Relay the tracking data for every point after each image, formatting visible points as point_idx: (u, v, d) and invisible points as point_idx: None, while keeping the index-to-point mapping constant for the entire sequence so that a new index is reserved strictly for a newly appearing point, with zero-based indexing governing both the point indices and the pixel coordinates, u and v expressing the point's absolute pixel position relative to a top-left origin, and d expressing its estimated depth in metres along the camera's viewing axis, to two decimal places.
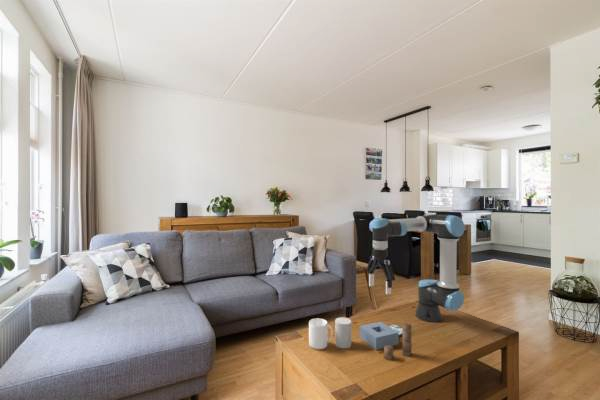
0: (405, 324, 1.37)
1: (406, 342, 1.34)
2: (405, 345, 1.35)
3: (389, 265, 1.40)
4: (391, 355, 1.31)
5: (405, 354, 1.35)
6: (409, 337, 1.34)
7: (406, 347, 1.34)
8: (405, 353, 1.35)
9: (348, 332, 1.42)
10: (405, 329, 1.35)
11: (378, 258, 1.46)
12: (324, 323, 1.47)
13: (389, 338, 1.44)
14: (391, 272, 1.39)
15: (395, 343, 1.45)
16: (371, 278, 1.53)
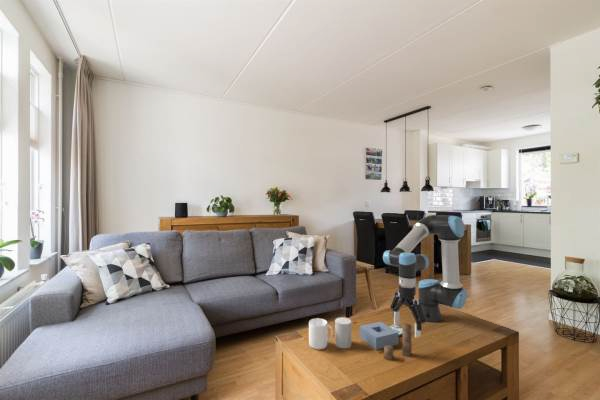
0: (405, 324, 1.37)
1: (406, 342, 1.34)
2: (405, 345, 1.35)
3: (418, 305, 1.30)
4: (391, 355, 1.31)
5: (405, 354, 1.35)
6: (409, 337, 1.34)
7: (406, 347, 1.34)
8: (405, 353, 1.35)
9: (348, 332, 1.42)
10: (405, 329, 1.35)
11: (405, 296, 1.35)
12: (324, 323, 1.47)
13: (389, 338, 1.44)
14: (421, 313, 1.28)
15: (395, 343, 1.45)
16: (396, 316, 1.42)
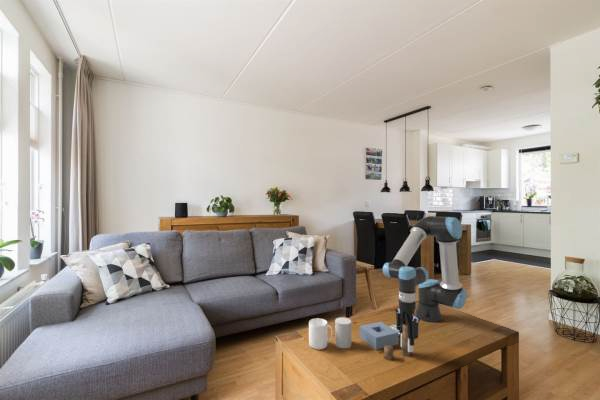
0: (405, 324, 1.37)
1: (406, 342, 1.34)
2: (405, 345, 1.35)
3: (416, 323, 1.31)
4: (391, 355, 1.31)
5: (405, 354, 1.35)
6: None
7: (406, 347, 1.35)
8: (405, 353, 1.35)
9: (348, 332, 1.42)
10: (405, 329, 1.35)
11: (405, 311, 1.36)
12: (324, 323, 1.47)
13: (389, 338, 1.44)
14: (416, 331, 1.31)
15: (395, 343, 1.45)
16: None
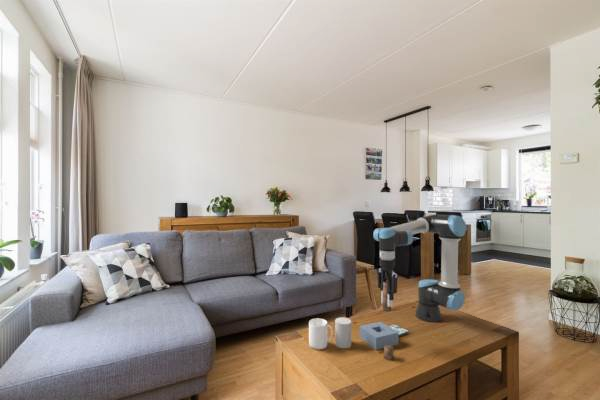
0: (385, 282, 1.46)
1: (386, 298, 1.43)
2: (385, 301, 1.44)
3: (395, 279, 1.40)
4: (391, 355, 1.31)
5: (385, 309, 1.44)
6: None
7: (386, 303, 1.43)
8: (385, 308, 1.44)
9: (348, 332, 1.42)
10: (385, 286, 1.44)
11: (385, 268, 1.44)
12: (324, 323, 1.47)
13: (389, 338, 1.44)
14: (395, 286, 1.40)
15: (395, 343, 1.45)
16: None
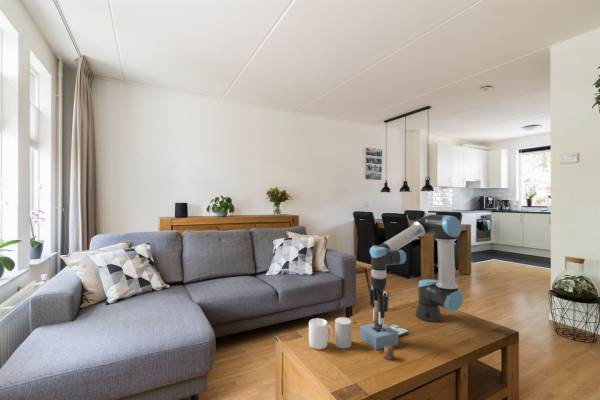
0: (377, 300, 1.50)
1: (377, 316, 1.48)
2: (376, 319, 1.48)
3: (386, 297, 1.44)
4: (391, 355, 1.31)
5: (376, 327, 1.48)
6: None
7: (377, 321, 1.48)
8: (376, 326, 1.48)
9: (348, 332, 1.42)
10: (376, 304, 1.48)
11: (377, 287, 1.49)
12: (324, 323, 1.47)
13: (389, 338, 1.44)
14: (386, 304, 1.44)
15: (395, 343, 1.45)
16: None
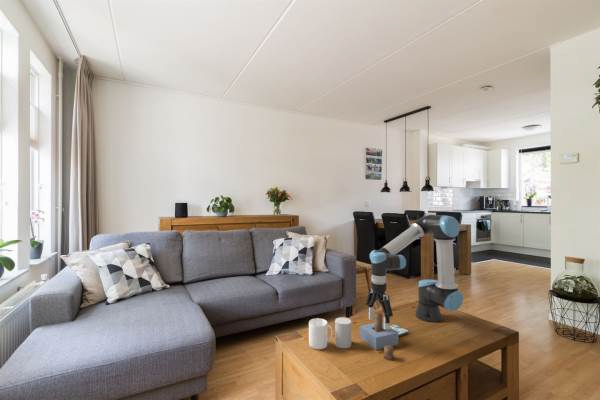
0: (377, 313, 1.50)
1: (377, 329, 1.48)
2: None
3: (387, 301, 1.43)
4: (391, 355, 1.31)
5: None
6: (380, 325, 1.48)
7: None
8: None
9: (348, 332, 1.42)
10: (376, 317, 1.48)
11: (377, 292, 1.49)
12: (324, 323, 1.47)
13: (389, 338, 1.44)
14: (389, 308, 1.42)
15: (395, 343, 1.45)
16: (371, 311, 1.54)
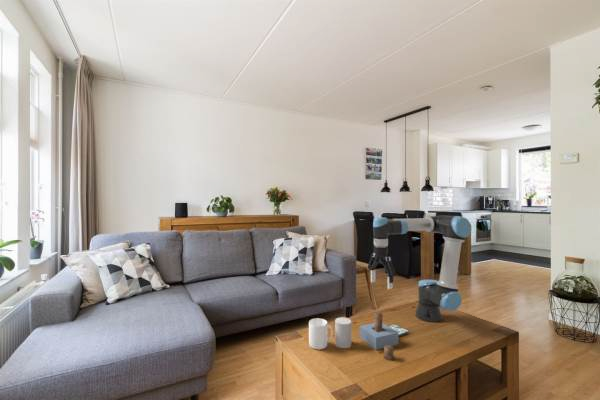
0: (377, 313, 1.50)
1: (377, 329, 1.48)
2: None
3: (390, 261, 1.49)
4: (391, 355, 1.31)
5: None
6: (380, 325, 1.48)
7: None
8: None
9: (348, 332, 1.42)
10: (376, 317, 1.48)
11: (379, 255, 1.54)
12: (324, 323, 1.47)
13: (389, 338, 1.44)
14: (392, 268, 1.47)
15: (395, 343, 1.45)
16: (372, 274, 1.61)
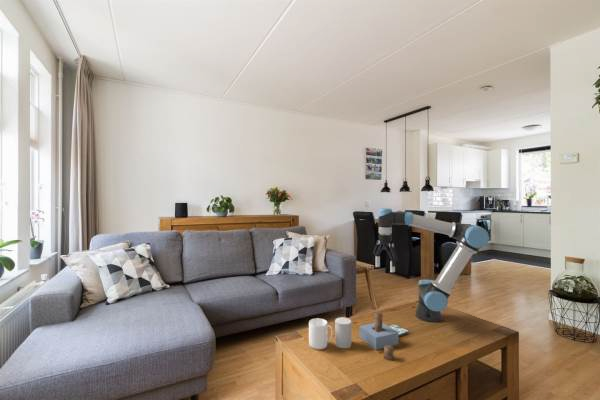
0: (377, 313, 1.50)
1: (377, 329, 1.48)
2: None
3: (393, 247, 1.65)
4: (391, 355, 1.31)
5: None
6: (380, 325, 1.48)
7: None
8: None
9: (348, 332, 1.42)
10: (376, 317, 1.48)
11: (383, 242, 1.71)
12: (324, 323, 1.47)
13: (389, 338, 1.44)
14: (395, 253, 1.64)
15: (395, 343, 1.45)
16: (377, 260, 1.78)
